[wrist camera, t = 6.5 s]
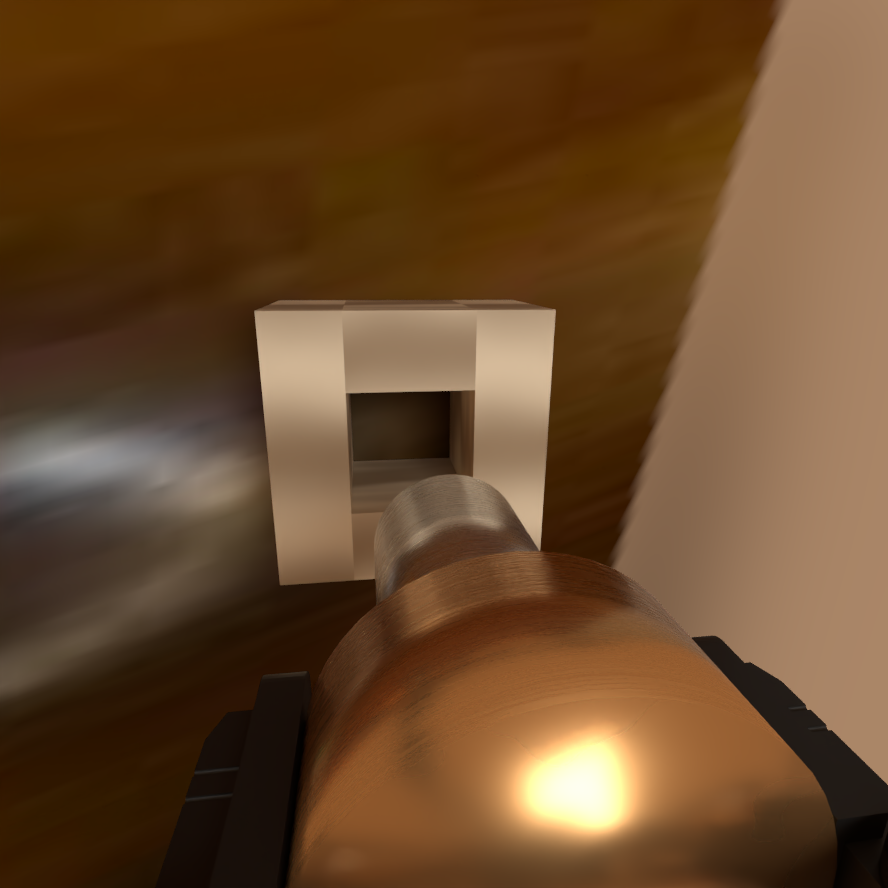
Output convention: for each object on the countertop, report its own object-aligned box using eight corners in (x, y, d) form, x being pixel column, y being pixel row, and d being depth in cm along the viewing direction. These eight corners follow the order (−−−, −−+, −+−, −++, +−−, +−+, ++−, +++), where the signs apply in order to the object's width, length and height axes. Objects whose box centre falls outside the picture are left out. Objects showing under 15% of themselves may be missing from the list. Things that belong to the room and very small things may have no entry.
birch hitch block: (279, 300, 28) (254, 311, 22) (512, 299, 30) (555, 309, 23) (296, 518, 32) (280, 585, 25) (503, 507, 33) (538, 567, 27)
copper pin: (320, 435, 14) (244, 737, 5) (567, 425, 15) (894, 669, 6) (335, 653, 16) (299, 1164, 7) (554, 633, 17) (783, 1065, 8)
